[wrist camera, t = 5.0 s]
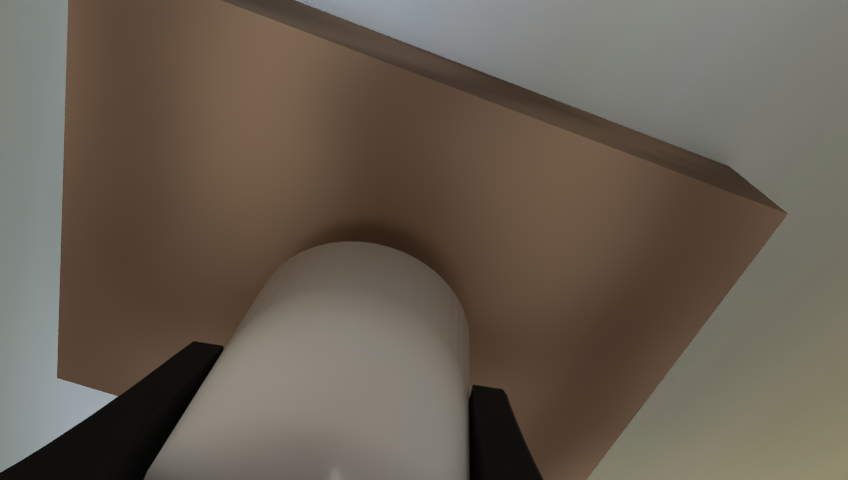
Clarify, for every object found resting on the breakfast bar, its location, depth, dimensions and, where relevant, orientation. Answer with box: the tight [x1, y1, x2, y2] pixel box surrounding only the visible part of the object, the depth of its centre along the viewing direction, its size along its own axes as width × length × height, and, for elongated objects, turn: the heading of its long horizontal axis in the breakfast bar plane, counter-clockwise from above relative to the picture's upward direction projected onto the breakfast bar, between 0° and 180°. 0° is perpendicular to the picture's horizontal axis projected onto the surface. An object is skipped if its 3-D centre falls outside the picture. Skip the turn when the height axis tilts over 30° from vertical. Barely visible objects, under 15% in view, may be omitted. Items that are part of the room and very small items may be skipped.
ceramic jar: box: [144, 241, 470, 480], centre depth 10 cm, size 5×5×5 cm
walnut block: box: [57, 0, 787, 480], centre depth 16 cm, size 16×12×4 cm
